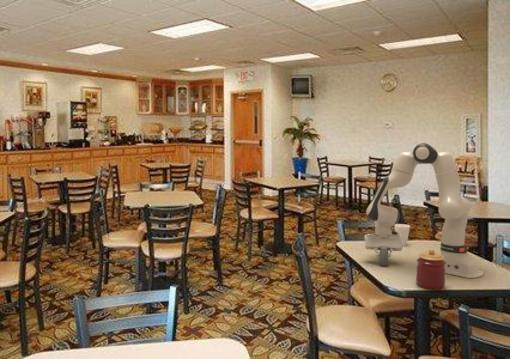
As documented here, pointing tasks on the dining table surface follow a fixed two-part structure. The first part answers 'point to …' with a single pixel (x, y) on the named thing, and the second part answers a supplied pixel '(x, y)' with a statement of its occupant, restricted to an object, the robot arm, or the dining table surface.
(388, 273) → the dining table surface
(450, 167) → the robot arm
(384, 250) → the connector casing
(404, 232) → the foam cup
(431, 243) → the dining table surface
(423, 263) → the canister
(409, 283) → the dining table surface
